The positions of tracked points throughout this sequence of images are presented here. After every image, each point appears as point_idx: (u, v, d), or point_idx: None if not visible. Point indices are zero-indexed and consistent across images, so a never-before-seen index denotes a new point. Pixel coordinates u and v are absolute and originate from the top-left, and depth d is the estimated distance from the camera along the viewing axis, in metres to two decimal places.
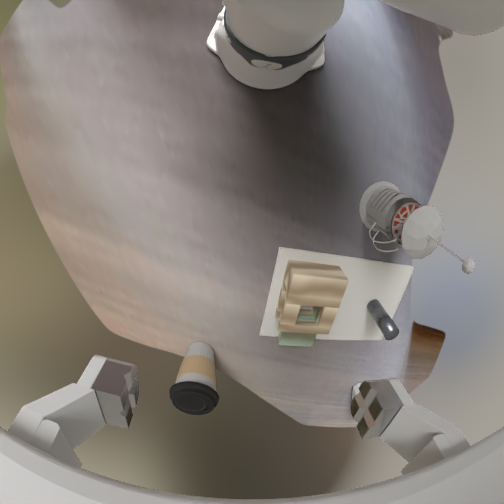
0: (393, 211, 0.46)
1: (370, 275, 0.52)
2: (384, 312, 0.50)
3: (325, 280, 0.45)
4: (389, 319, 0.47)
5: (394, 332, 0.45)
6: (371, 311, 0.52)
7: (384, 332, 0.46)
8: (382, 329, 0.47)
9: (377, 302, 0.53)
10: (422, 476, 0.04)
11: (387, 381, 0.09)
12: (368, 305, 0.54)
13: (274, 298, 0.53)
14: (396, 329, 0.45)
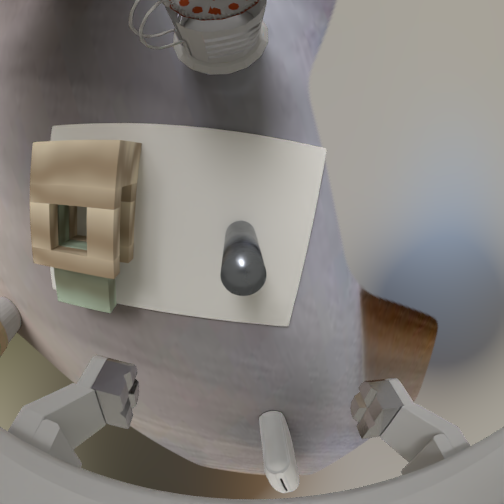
0: (239, 33, 0.20)
1: (214, 161, 0.25)
2: (243, 233, 0.23)
3: (76, 145, 0.19)
4: (245, 242, 0.20)
5: (251, 270, 0.18)
6: None
7: None
8: None
9: (242, 223, 0.26)
10: (422, 477, 0.04)
11: (387, 380, 0.09)
12: None
13: None
14: (253, 260, 0.18)
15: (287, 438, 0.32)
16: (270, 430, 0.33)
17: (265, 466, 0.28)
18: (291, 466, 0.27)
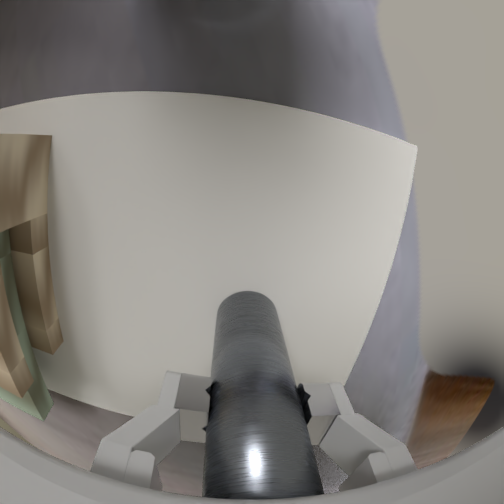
0: None
1: (189, 164, 0.11)
2: (257, 358, 0.08)
3: None
4: (266, 415, 0.06)
5: None
6: (214, 345, 0.11)
7: None
8: None
9: (251, 304, 0.12)
10: (422, 477, 0.04)
11: (327, 384, 0.08)
12: (216, 317, 0.13)
13: None
14: None
15: None
16: None
17: None
18: None
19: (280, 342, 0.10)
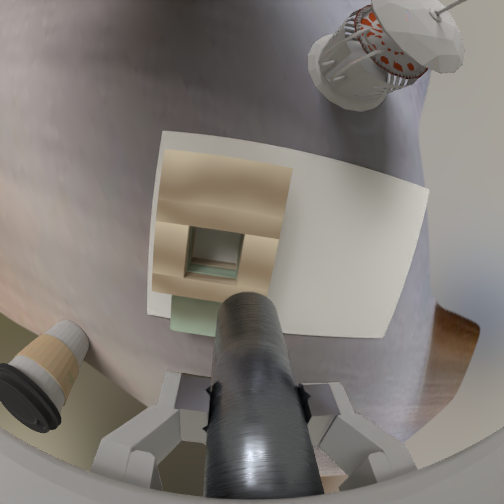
0: (371, 74, 0.22)
1: (349, 194, 0.27)
2: (258, 359, 0.08)
3: (235, 164, 0.20)
4: (267, 416, 0.06)
5: None
6: None
7: None
8: None
9: (251, 305, 0.12)
10: (423, 477, 0.04)
11: (327, 384, 0.08)
12: (217, 318, 0.13)
13: None
14: None
15: None
16: None
17: None
18: None
19: (280, 343, 0.10)
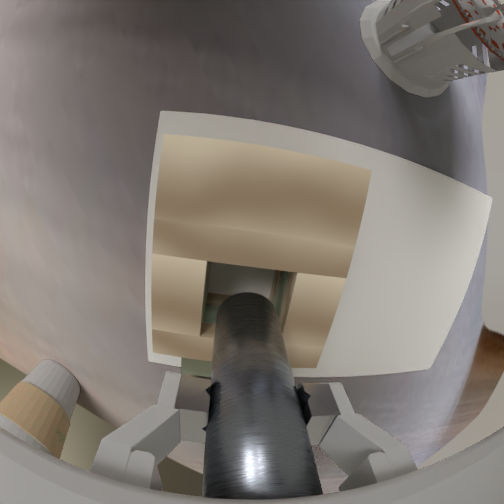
0: None
1: (416, 204, 0.19)
2: (257, 360, 0.08)
3: (286, 160, 0.12)
4: (266, 416, 0.06)
5: None
6: (213, 346, 0.11)
7: None
8: None
9: (251, 305, 0.12)
10: (422, 477, 0.04)
11: (327, 384, 0.08)
12: (216, 318, 0.13)
13: None
14: None
15: None
16: None
17: None
18: None
19: (280, 343, 0.10)
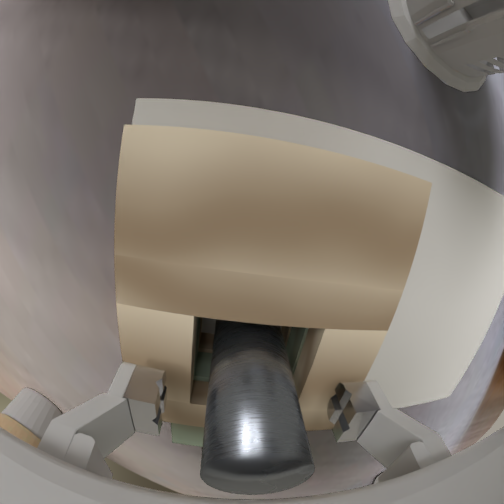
0: None
1: (455, 220, 0.14)
2: (254, 333, 0.10)
3: (315, 164, 0.07)
4: (259, 377, 0.08)
5: (278, 471, 0.05)
6: (215, 326, 0.12)
7: (202, 456, 0.06)
8: None
9: None
10: (422, 477, 0.04)
11: (365, 382, 0.08)
12: None
13: None
14: (284, 460, 0.05)
15: None
16: None
17: None
18: None
19: None
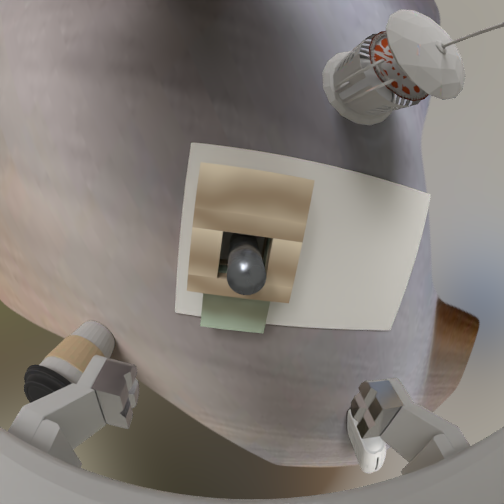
0: (379, 91, 0.25)
1: (360, 200, 0.30)
2: (246, 241, 0.25)
3: (265, 177, 0.23)
4: (247, 248, 0.23)
5: (253, 272, 0.21)
6: None
7: None
8: None
9: None
10: (422, 477, 0.04)
11: (387, 380, 0.09)
12: None
13: (190, 239, 0.30)
14: (254, 264, 0.21)
15: None
16: None
17: (365, 449, 0.32)
18: (385, 445, 0.31)
19: (255, 241, 0.27)
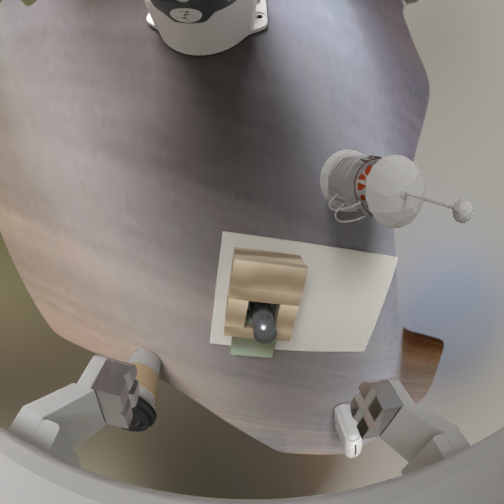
0: None
1: (342, 268, 0.43)
2: (263, 305, 0.39)
3: (276, 268, 0.37)
4: (265, 314, 0.37)
5: (269, 332, 0.34)
6: (250, 305, 0.42)
7: (253, 331, 0.35)
8: (253, 327, 0.36)
9: None
10: (422, 477, 0.04)
11: (387, 380, 0.09)
12: None
13: (222, 296, 0.44)
14: (270, 327, 0.34)
15: None
16: (345, 416, 0.51)
17: (346, 438, 0.46)
18: None
19: (268, 303, 0.40)
